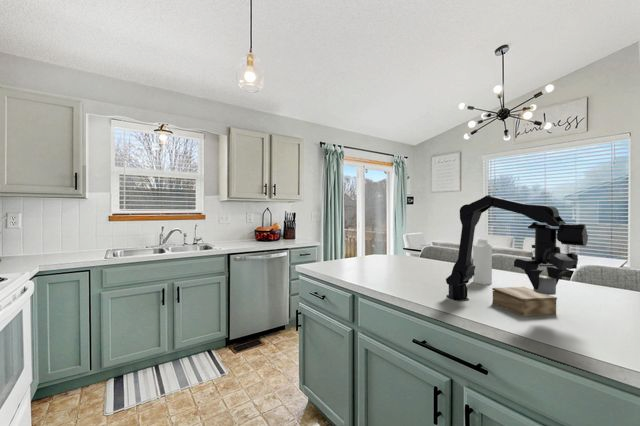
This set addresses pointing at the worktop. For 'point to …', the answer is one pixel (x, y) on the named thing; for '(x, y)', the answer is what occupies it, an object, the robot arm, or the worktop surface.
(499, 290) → the lid
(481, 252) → the milk
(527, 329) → the worktop surface
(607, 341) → the worktop surface
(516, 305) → the box
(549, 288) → the grey rounded block
